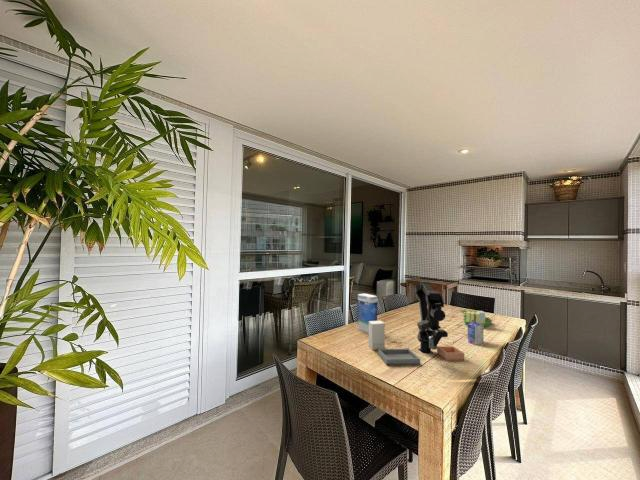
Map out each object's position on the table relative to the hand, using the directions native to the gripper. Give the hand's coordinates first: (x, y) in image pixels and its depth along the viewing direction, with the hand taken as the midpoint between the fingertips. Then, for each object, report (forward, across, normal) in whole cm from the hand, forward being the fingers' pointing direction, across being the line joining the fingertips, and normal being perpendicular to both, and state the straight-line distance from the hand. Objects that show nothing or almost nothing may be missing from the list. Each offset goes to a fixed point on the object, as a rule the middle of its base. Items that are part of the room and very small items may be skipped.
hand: (432, 345), depth 149 cm
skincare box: (+9, -20, -25) cm, 33 cm away
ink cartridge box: (+9, -26, +43) cm, 51 cm away
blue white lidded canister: (+9, -52, -22) cm, 57 cm away
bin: (+9, -5, +13) cm, 16 cm away
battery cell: (+2, 0, 0) cm, 2 cm away
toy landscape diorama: (+9, -66, +73) cm, 99 cm away
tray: (+9, -3, -18) cm, 20 cm away
